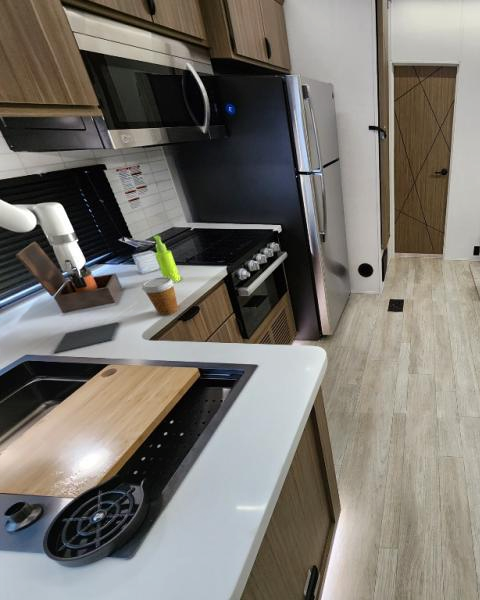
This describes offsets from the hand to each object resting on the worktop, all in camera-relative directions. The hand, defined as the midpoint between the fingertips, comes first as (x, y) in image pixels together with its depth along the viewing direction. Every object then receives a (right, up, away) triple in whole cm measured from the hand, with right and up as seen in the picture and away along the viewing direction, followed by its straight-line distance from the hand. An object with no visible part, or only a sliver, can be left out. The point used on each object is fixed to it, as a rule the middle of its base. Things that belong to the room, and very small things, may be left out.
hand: (84, 283), depth 126 cm
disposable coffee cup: (+35, -11, -3) cm, 37 cm away
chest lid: (-7, +5, -7) cm, 12 cm away
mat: (+19, -19, -18) cm, 32 cm away
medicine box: (+2, +8, +31) cm, 32 cm away
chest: (0, -7, +4) cm, 8 cm away
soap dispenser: (+19, +2, +21) cm, 29 cm away
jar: (0, -5, +2) cm, 5 cm away
